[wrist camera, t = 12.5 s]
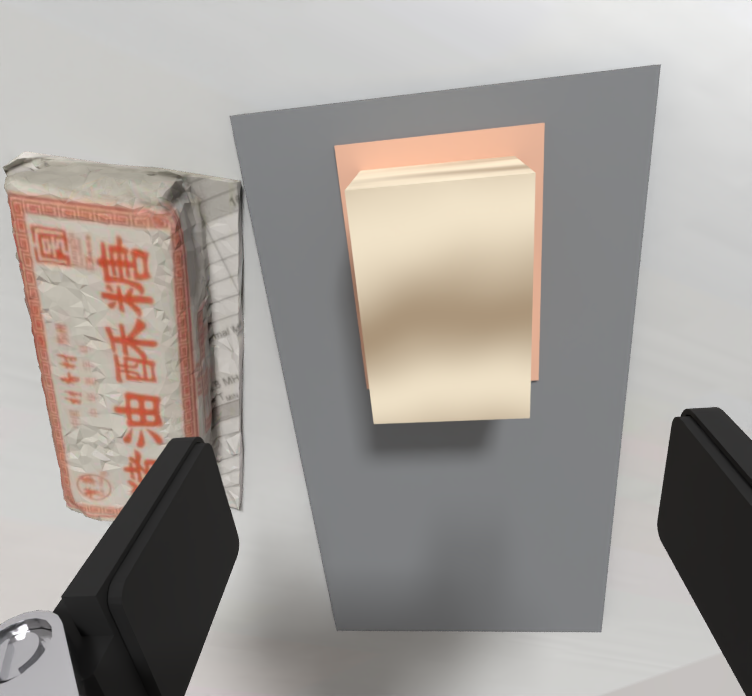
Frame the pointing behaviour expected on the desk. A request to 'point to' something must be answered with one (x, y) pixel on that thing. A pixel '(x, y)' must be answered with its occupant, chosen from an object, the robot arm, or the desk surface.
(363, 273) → the birch tile
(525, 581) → the mat
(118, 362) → the packaged product
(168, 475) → the robot arm
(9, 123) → the desk surface
